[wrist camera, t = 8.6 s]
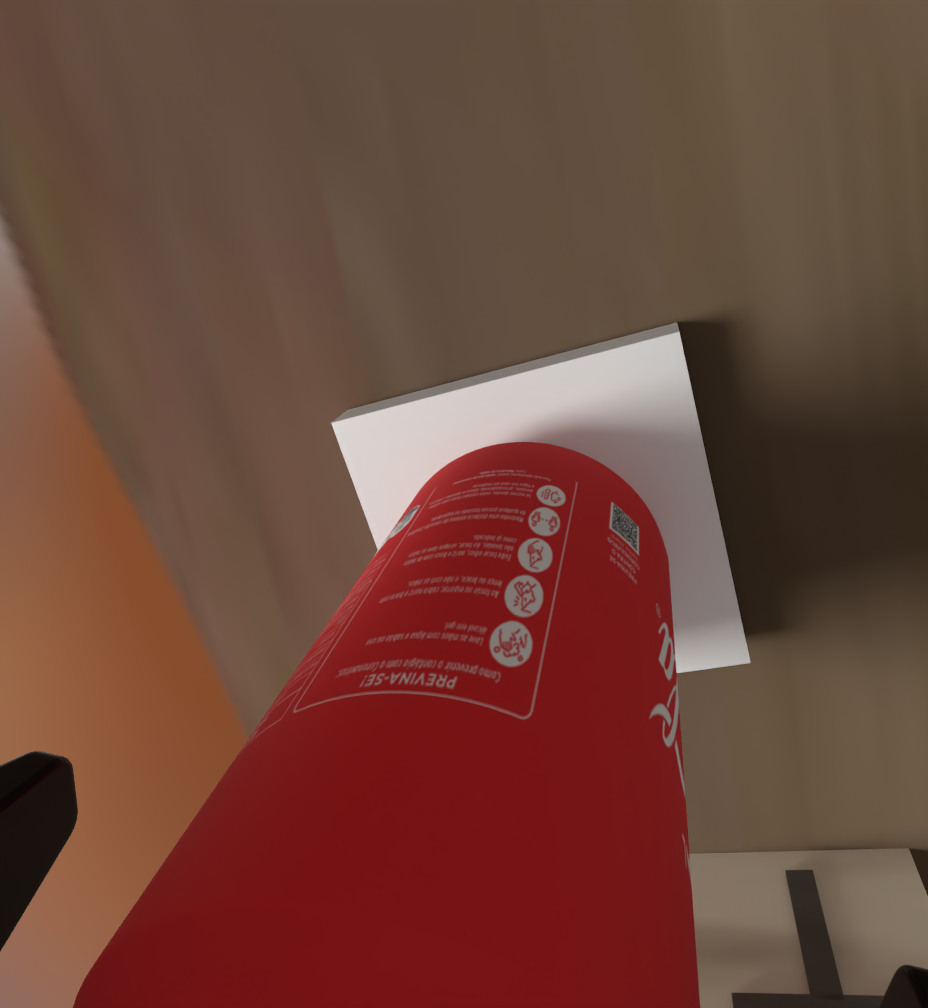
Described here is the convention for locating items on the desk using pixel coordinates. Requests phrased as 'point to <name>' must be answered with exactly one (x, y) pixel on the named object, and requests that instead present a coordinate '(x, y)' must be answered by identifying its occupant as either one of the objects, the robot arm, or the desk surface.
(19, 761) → the robot arm
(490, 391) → the white mat
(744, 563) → the desk surface
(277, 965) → the beverage can
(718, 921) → the letter block
